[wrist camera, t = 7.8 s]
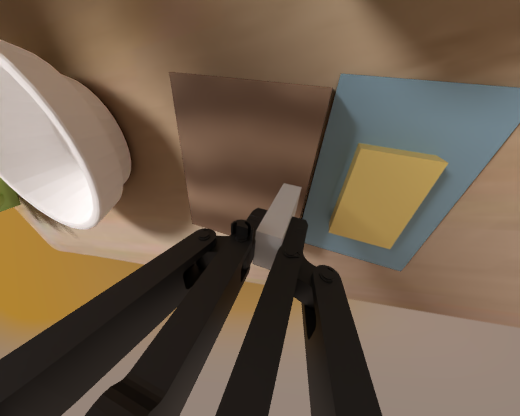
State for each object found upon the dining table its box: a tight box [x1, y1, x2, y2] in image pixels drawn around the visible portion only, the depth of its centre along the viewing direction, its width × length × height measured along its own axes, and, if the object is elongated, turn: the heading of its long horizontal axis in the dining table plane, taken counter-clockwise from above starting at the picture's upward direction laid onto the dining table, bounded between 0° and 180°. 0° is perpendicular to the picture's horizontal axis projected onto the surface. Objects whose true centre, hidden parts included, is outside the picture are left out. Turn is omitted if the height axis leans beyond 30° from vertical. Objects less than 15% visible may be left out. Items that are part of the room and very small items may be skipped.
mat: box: [302, 74, 520, 271], centre depth 18 cm, size 18×12×1 cm
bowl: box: [0, 40, 131, 229], centre depth 25 cm, size 22×22×8 cm
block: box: [329, 143, 448, 249], centre depth 18 cm, size 9×6×2 cm, turn 174°
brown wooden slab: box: [169, 72, 333, 235], centre depth 20 cm, size 16×13×4 cm
